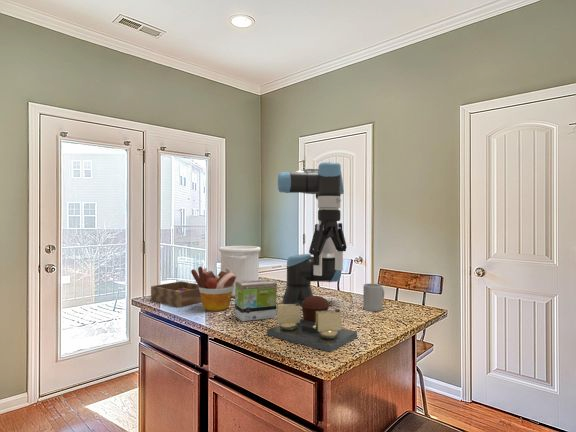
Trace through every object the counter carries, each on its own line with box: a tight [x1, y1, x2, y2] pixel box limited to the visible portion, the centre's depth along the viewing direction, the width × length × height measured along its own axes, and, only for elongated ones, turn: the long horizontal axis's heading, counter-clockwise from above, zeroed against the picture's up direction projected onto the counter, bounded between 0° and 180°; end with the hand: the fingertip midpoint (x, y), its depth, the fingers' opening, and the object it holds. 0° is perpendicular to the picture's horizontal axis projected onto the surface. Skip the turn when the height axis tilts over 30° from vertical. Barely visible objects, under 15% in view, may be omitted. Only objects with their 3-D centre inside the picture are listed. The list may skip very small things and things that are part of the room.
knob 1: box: [276, 303, 301, 330], centre depth 133 cm, size 8×6×9 cm
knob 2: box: [316, 308, 342, 339], centre depth 124 cm, size 8×6×9 cm
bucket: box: [218, 245, 262, 298], centre depth 201 cm, size 26×22×25 cm
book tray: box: [150, 280, 202, 309], centre depth 184 cm, size 23×18×7 cm
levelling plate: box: [266, 318, 358, 353], centre depth 131 cm, size 26×18×4 cm
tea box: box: [234, 279, 278, 322], centre depth 155 cm, size 15×10×15 cm
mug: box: [362, 283, 385, 312], centre depth 171 cm, size 12×8×11 cm
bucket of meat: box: [190, 266, 236, 312], centre depth 169 cm, size 20×16×20 cm
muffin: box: [300, 295, 331, 322], centre depth 149 cm, size 12×11×10 cm
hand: (328, 272), depth 125 cm, fingers open, 13 cm apart
